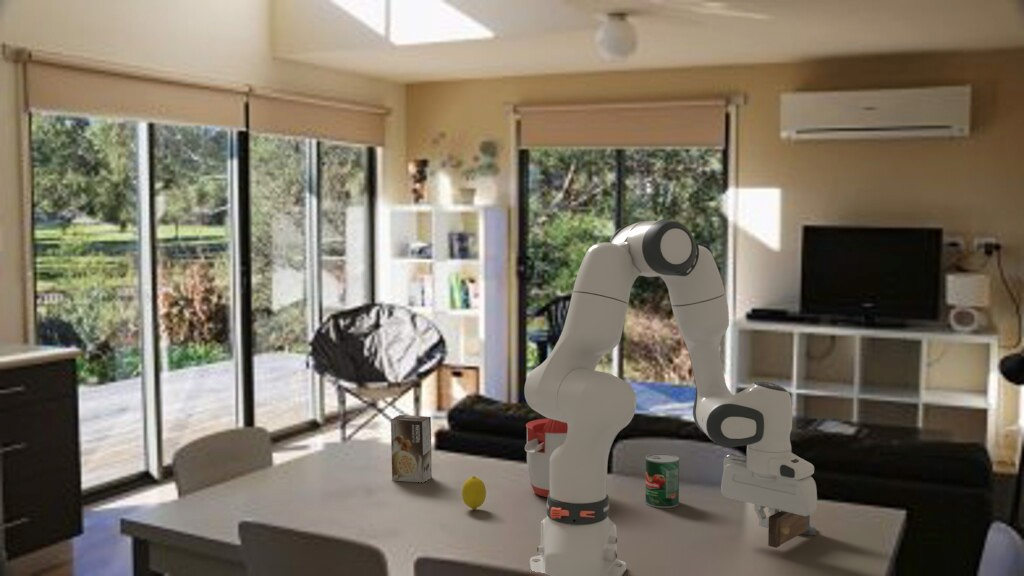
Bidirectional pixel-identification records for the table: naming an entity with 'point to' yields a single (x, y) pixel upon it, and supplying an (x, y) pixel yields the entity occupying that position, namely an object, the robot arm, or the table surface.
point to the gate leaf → (785, 527)
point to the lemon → (473, 492)
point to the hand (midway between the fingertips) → (766, 527)
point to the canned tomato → (662, 480)
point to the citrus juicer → (543, 451)
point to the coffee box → (411, 448)
